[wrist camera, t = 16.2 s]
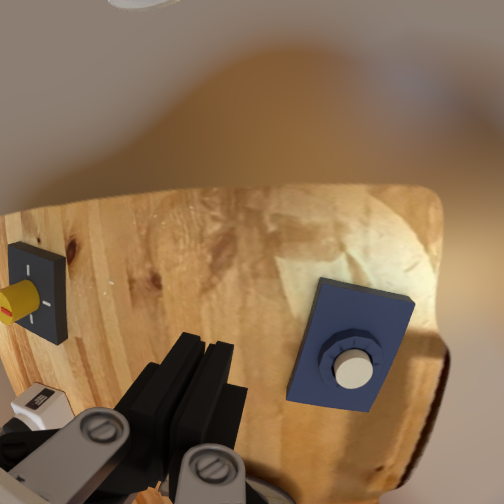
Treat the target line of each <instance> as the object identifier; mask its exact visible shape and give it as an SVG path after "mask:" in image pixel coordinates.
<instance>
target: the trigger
mask: <svg viewBox="0 0 504 504" xmlns="http://www.w3.org/2000/svg"><path fill="white" fill-rule="evenodd" d="M334 371H335V376H336V380H337V382H338V383H339V384H340V385H341V386H342V387H345V388H349V389H353V388H358V387H361V386H363V385H364V384H366V383H367V382H368V381H369V379H370V378H371V376H372V373H373V367H372V364H371V362H370V359H369V357H368V355H367V354H366V353H365V352H364V351H362V350H359V349H350V350H347V351H344V352H343V353H341V354H340V355H339V356H338V357H337V359H336V360H335V363H334Z"/></svg>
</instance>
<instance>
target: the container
mask: <svg viewBox="0 0 504 504" xmlns="http://www.w3.org/2000/svg"><path fill="white" fill-rule="evenodd" d="M11 406H12V407H13V410H14V412H15V414H16V415H15V416H14V417H13V418H12V419H11V420H9V422H7V423H6V424H5V425H4V426H3V428H2V429H3V430H4V432H5V433H10V432H22V431H37V430H48V429H58V428H63V427H64V426H65V425H66V424H68V423H69V422H70V421H71V420H72V419H74V418H75V417H74V415H73V412H72V410H71V408H70V405H69V403H68V400H67V397H66V395H65V393H64V392H61V391H58V390H55V389H52V388H50V387H47V386H44V385H41V384H39V383H34V384H33V385H32V386H31V387H29V388H28V389H27V390H26V391H25V392H23V393H22V394H21V395H20V396H18V397H17V398H16V399H15V400H14V401H12V402H11Z"/></svg>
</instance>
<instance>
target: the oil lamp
mask: <svg viewBox="0 0 504 504" xmlns="http://www.w3.org/2000/svg"><path fill="white" fill-rule="evenodd" d="M245 481H246V482H247V483H248V484H249V485H250V486H251V487H252V488H253V489H254V490H255V491H256V492H257V493H258V494H259V495H260V496H261V497H262V498H263V499H264V500H265V501H266V502H267V503H268V504H296V502H295V501H294V499H293V498H292V497H291V496H290V495H289V494H288V493H287V492H285V491H284V490H282V489H281V488H279V487H278V486H276V485H274V484H271V483H269V482H267V481H265V480H262V479H259V478H256V477H253V476H250V475H247V474H245ZM158 492H161V495H162V496H169V473H168V476H167V478H166V480H165V482H161V484H160V486H159V489H158Z"/></svg>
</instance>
